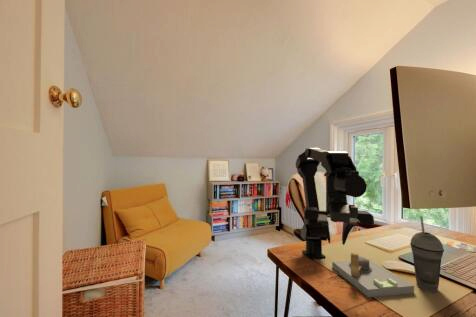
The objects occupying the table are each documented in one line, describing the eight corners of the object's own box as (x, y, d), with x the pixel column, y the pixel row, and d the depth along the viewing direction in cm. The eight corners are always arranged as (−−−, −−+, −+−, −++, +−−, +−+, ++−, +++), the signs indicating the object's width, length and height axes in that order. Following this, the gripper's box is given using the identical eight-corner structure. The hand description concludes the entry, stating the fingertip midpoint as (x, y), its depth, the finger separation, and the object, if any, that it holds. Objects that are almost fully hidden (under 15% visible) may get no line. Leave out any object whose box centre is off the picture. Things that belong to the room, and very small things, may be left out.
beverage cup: (432, 297, 55) (431, 221, 56) (404, 282, 62) (403, 215, 63) (451, 292, 57) (450, 219, 58) (421, 278, 64) (420, 213, 65)
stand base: (332, 267, 71) (332, 258, 71) (369, 265, 72) (369, 256, 73) (368, 297, 55) (368, 285, 55) (414, 293, 57) (414, 282, 57)
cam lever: (353, 261, 70) (353, 243, 70) (370, 266, 67) (370, 247, 67) (344, 273, 62) (344, 252, 62) (363, 279, 59) (363, 258, 59)
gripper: (304, 194, 59) (304, 249, 58) (381, 197, 53) (381, 259, 53) (304, 189, 69) (304, 236, 69) (367, 192, 64) (367, 243, 63)
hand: (336, 243), depth 63 cm, fingers open, 4 cm apart
